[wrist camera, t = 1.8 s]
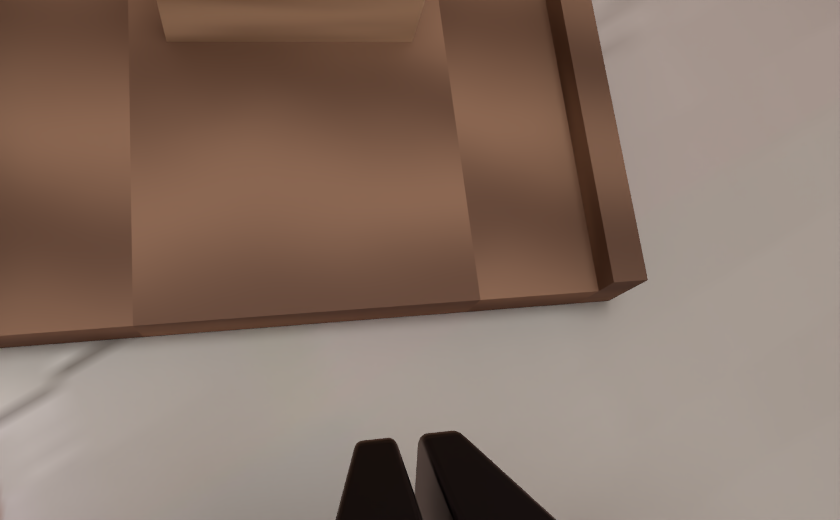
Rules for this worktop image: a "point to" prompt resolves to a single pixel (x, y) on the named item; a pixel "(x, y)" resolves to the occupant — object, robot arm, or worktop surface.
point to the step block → (290, 20)
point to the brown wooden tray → (303, 172)
